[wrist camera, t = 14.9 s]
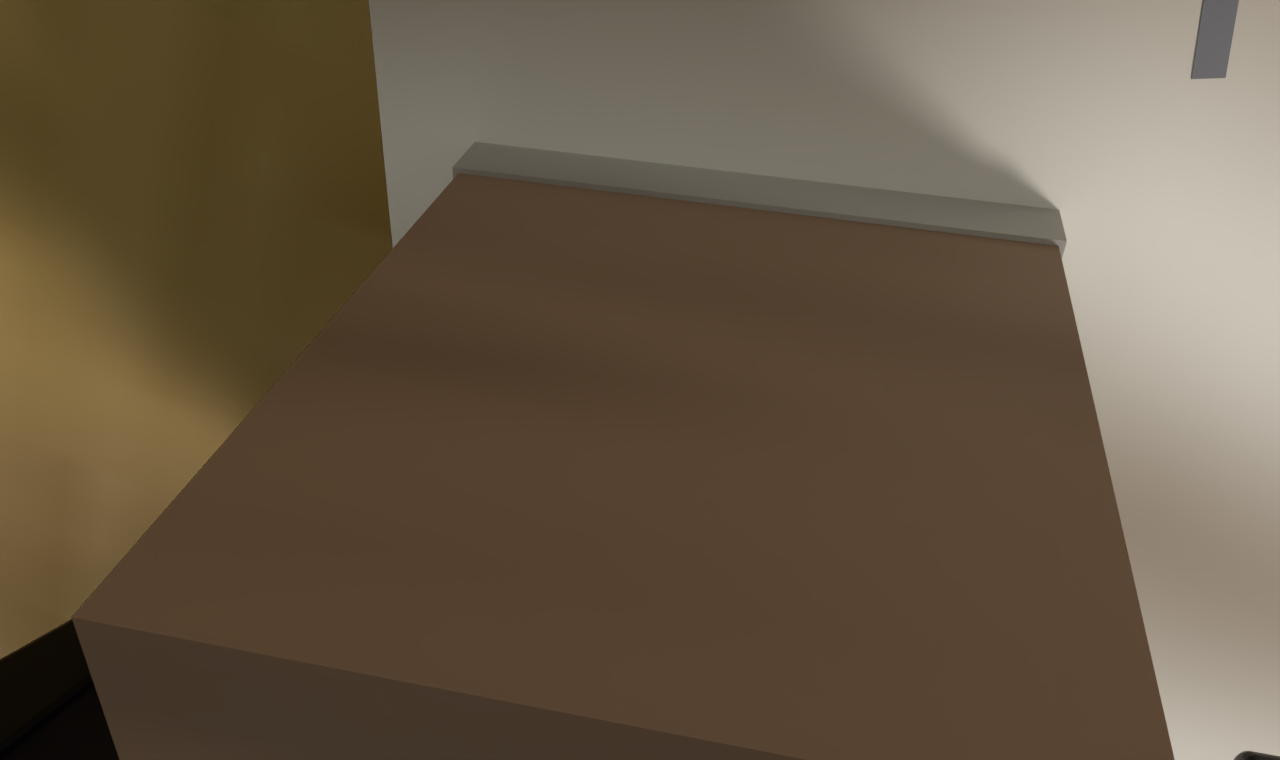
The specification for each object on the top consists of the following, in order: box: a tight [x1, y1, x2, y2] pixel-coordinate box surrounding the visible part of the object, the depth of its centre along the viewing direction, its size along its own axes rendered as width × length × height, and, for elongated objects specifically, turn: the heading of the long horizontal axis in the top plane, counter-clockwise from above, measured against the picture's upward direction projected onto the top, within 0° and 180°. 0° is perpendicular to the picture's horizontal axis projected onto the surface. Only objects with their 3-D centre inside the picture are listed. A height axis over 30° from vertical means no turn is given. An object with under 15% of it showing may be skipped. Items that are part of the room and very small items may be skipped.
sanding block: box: [71, 142, 1175, 760], centre depth 9 cm, size 7×5×6 cm
